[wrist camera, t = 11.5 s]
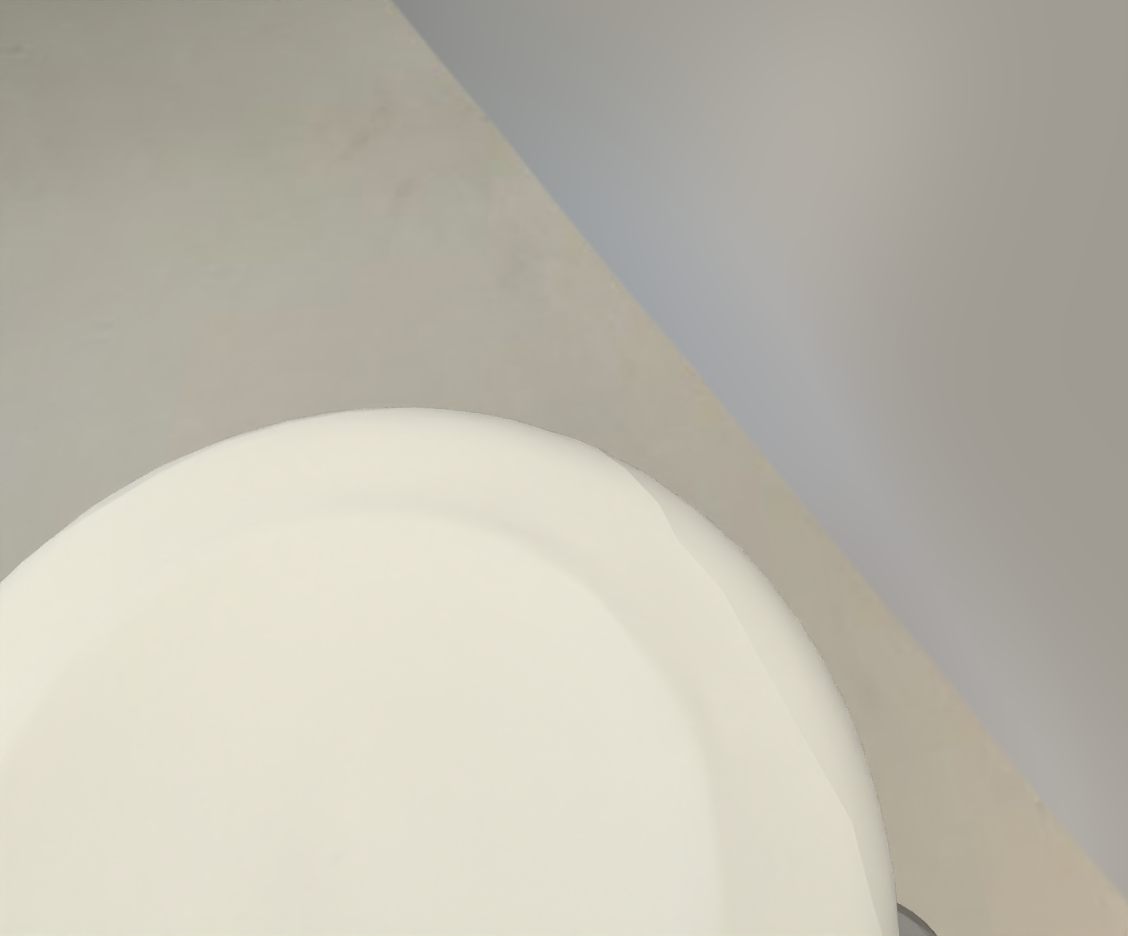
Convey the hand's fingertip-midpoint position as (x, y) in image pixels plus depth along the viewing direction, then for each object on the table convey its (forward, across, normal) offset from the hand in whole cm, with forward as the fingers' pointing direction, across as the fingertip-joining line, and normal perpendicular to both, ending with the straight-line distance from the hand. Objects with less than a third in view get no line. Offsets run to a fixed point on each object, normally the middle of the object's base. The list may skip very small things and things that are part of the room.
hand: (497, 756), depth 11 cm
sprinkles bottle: (+3, 0, +6) cm, 7 cm away
